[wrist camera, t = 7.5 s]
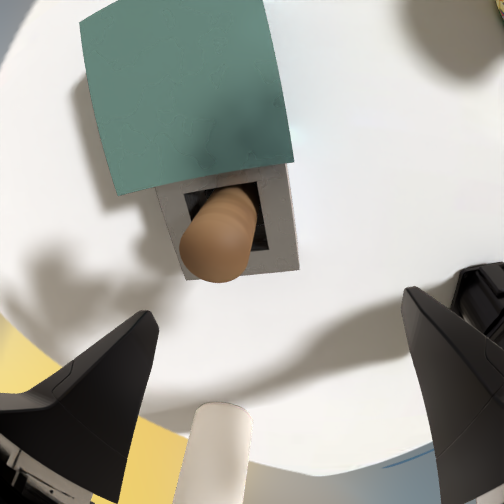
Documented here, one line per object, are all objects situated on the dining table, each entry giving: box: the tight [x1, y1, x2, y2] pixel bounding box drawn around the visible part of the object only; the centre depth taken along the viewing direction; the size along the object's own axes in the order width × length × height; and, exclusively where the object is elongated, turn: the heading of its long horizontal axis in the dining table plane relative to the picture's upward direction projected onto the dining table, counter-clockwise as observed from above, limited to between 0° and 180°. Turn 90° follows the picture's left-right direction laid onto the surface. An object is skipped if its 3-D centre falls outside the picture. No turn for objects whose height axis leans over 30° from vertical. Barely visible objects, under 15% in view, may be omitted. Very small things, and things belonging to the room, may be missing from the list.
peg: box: [179, 182, 261, 283], centre depth 17 cm, size 4×4×8 cm
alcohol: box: [173, 402, 253, 504], centre depth 25 cm, size 9×9×30 cm
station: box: [79, 0, 299, 280], centre depth 16 cm, size 19×10×6 cm, turn 11°
